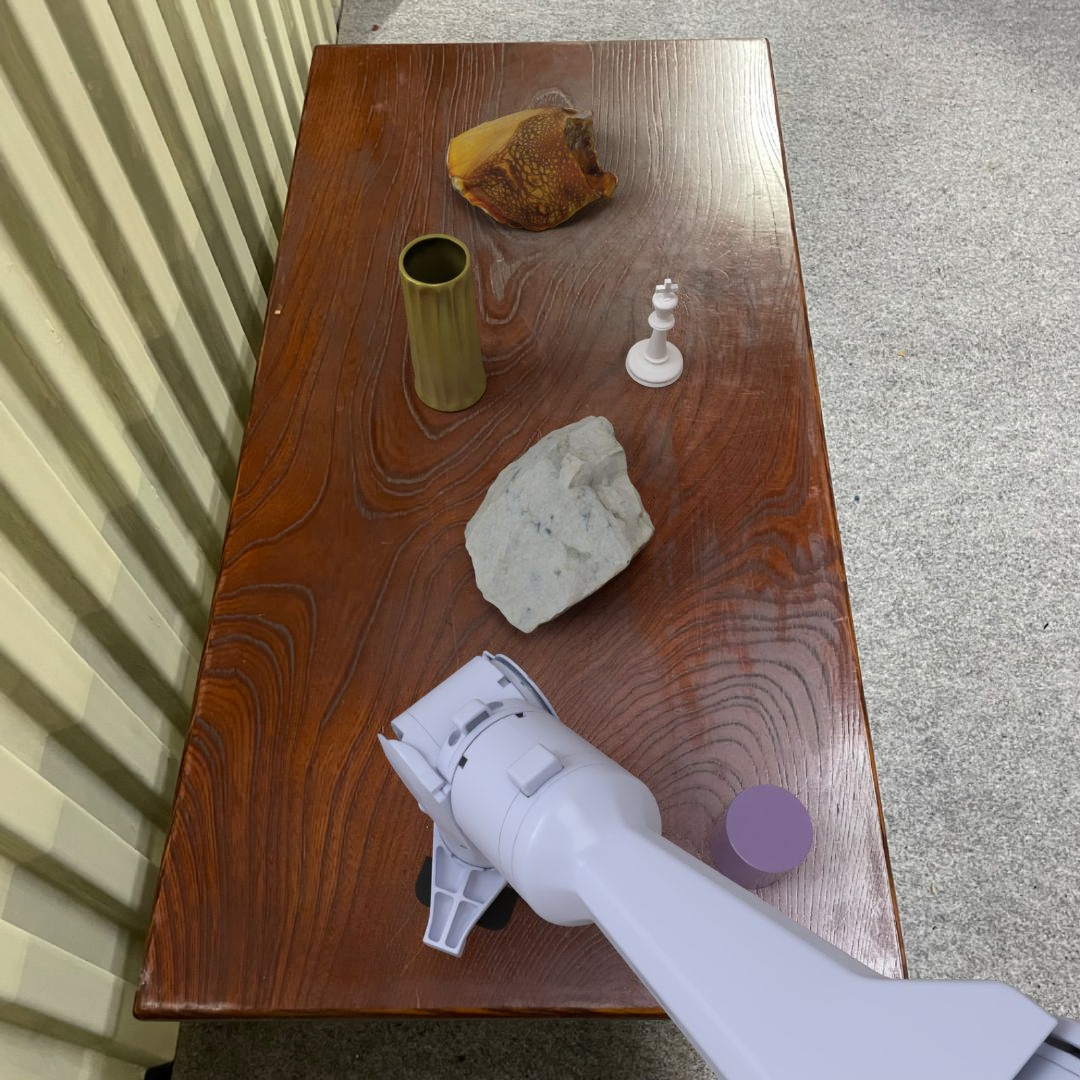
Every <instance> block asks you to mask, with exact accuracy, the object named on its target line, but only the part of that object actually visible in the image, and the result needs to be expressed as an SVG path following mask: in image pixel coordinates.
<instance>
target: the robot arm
mask: <svg viewBox="0 0 1080 1080" xmlns="http://www.w3.org/2000/svg"><path fill="white" fill-rule="evenodd" d="M390 726H391V728H392V730H393V733H394V734H395V736H396V737H397V739H388V738H387V737H385V735H383V734H382V733H377V738H378V740H379V742H380V746H381V747H382V750H383V752H384V755H385V757H386V759H387V761H388V762H389V764H390V765H391V767H392V768H393V770H394V771H395V773H396V774H397V775H398V777H399V779H400V780H401V781H402V783H403V785H405V787H406V788H407V789H408V791H409V792H410V794H411V795H412V796H413V798H414V799H415V800H416V802H417V805H418V807H419V809H420V811H421V812H422V813H423V814H426V815H428V816H429V818H430V819H431V820H432V821H433V835H432V837H433V838H432V841H433V842H432V856H428V855H426V856H425V858H424V860H423V864H422V866H421V869H420V870H419V874H418V876H417V878H416V881H415V884H414V893H415V896H416V898H417V900H418V902H419V903H420V904H421V905H423V906H425V907H427V908H429V909H430V910H429V916H428V921H427V925H426V929H425V932H424V936H423V938H422V942H423V943H424V944H425V945H426V946H427V947H430V948H432V949H435V950H437V951H439V952H443V953H446V954H448V955H451V956H453V957H456V958H458V959H460V958H462V956H463V953H464V950H465V947H466V945H467V938H468V937H469V935H470V933H471V931H472V929H473V928H474V927H475V926H478V927H481V928H483V929H486V930H488V931H493V932H494V931H495V932H497V931H501V930H504V929H505V928H506V927H507V926H508V924H509V923H510V921H511V919H512V915H513V912H514V910H515V907H516V904H517V901H518V898H519V896H520V897H521V898H522V899H523V900H524V901H525V902H526V903H527V904H528V906H529V907H530V908H531V909H532V910H533V911H534V913H535V914H536V915H537V916H539V918H542V920H544V921H546V922H548V923H551V924H554V925H557V926H562V927H582V926H588V925H591V924H595V925H596V926H597V928H598V929H599V930H600V931H601V932H602V934H603V935H604V936H605V938H606V939H607V940H608V942H609V943H610V944H611V946H613V948H614V950H616V952H617V953H618V954H619V956H621V957H622V959H623V960H624V961H625V963H626V964H627V965H628V966H629V968H630V969H631V970H632V972H633V973H634V974H635V975H636V977H637V978H638V980H639V981H640V982H641V983H642V984H643V986H644V987H645V988H646V989H647V991H648V992H649V993H650V994H651V996H652V997H653V998H654V1000H656V1002H657V1003H658V1005H660V1007H661V1009H663V1011H664V1012H665V1013H666V1014H667V1016H668V1017H669V1018H670V1020H671V1022H673V1023H674V1024H675V1026H676V1027H677V1028H678V1030H679V1031H680V1032H681V1033H682V1034H683V1036H684V1037H685V1038H686V1039H687V1041H688V1042H689V1043H690V1045H691V1046H692V1047H693V1048H694V1049H695V1051H696V1052H697V1054H698V1055H699V1056H700V1057H701V1058H702V1060H703V1061H704V1062H705V1064H706V1065H707V1066H708V1068H710V1069H711V1071H712V1072H713V1074H714V1075H715V1076H716V1077H717V1079H718V1080H1080V1018H1072V1017H1067V1016H1063V1015H1058V1014H1053V1013H1050V1012H1048V1010H1046V1009H1045V1008H1044V1007H1042V1006H1041V1005H1040V1004H1038V1003H1037V1002H1035V1001H1034V1000H1033V999H1031V998H1030V997H1029V996H1028V995H1026V994H1024V992H1022V991H1021V990H1019V989H1018V988H1016V987H1015V986H1014V985H1011V984H1009V983H1007V982H1005V981H1002V980H997V979H986V978H985V979H983V978H981V979H980V978H979V979H978V978H977V979H976V978H975V979H974V978H973V979H971V978H970V979H967V978H966V979H965V978H957V979H955V978H953V979H952V978H947V979H946V978H892V977H889V976H887V975H884V974H882V973H880V972H878V971H876V970H875V969H873V968H872V967H870V966H868V965H866V963H864V962H862V961H860V960H859V959H857V958H856V957H853V956H852V955H851V954H850V953H847V952H846V951H844V950H842V949H841V948H839V947H838V946H837V945H834V944H833V943H831V942H830V941H828V940H827V939H825V938H824V937H822V936H820V935H819V934H818V933H816V932H815V931H813V930H811V929H809V927H806V926H804V924H802V923H800V922H799V921H797V920H795V919H794V918H792V917H790V916H789V915H787V914H786V913H784V912H782V911H781V910H779V909H778V908H776V907H775V906H773V905H771V904H770V903H769V902H767V901H765V900H763V899H762V898H760V897H759V896H757V895H756V894H754V893H752V892H751V891H749V890H748V889H747V888H745V887H742V886H740V885H738V884H737V883H735V882H733V881H732V880H730V879H729V878H727V877H726V876H724V875H723V874H722V873H721V872H720V871H719V870H716V869H715V868H713V867H711V866H710V865H708V864H707V863H705V862H703V860H700V859H699V858H697V857H696V856H694V855H693V854H691V853H689V852H688V851H686V850H685V849H683V848H681V847H680V846H679V845H676V844H675V843H673V842H672V841H670V840H669V839H667V838H665V837H664V836H662V832H663V831H662V829H663V828H662V826H663V825H662V818H661V813H660V808H659V805H658V803H657V800H656V798H655V796H654V794H653V792H651V790H650V789H649V787H648V786H647V785H646V784H645V783H644V782H643V781H642V780H641V779H639V778H638V777H636V776H635V775H633V774H632V773H631V772H629V771H628V770H627V769H626V768H624V767H623V766H621V765H620V764H619V763H617V762H616V761H615V760H613V758H611V757H609V756H608V755H606V754H605V753H603V752H602V751H601V750H600V749H598V748H597V747H596V746H594V745H593V744H591V743H590V742H589V741H587V740H586V739H585V738H584V737H582V736H580V735H579V733H576V732H575V731H574V730H572V729H571V728H570V727H569V726H567V725H566V724H564V723H563V722H561V720H560V718H559V716H558V714H557V713H556V711H555V709H554V707H553V706H552V703H550V701H549V700H548V698H547V697H546V696H545V694H544V693H543V692H542V690H541V689H540V688H539V686H538V685H537V684H536V682H535V681H534V680H533V679H532V678H531V677H530V676H529V675H528V673H527V672H525V671H524V670H523V669H522V668H521V666H519V664H517V663H516V662H514V661H513V660H512V659H511V658H509V657H508V656H507V655H506V654H505V655H504V654H502V653H497V654H496V655H494V654H492V653H490V652H489V651H488V650H484V651H482V655H476V656H474V657H473V658H472V659H470V660H469V661H468V662H466V663H465V664H463V666H461V667H460V668H459V669H458V670H456V671H455V672H453V673H452V674H451V675H449V676H448V677H447V678H446V679H444V680H443V681H442V682H441V683H439V684H438V685H437V686H436V687H434V688H433V689H432V690H430V691H429V692H428V693H426V694H425V695H424V696H422V697H421V698H420V699H419V700H418V701H416V702H415V703H413V704H412V705H411V706H410V707H408V708H407V709H406V710H405V711H403V712H402V713H400V714H398V715H397V716H396V717H395V718H393V719H392V720H391V721H390ZM508 882H509V883H510V885H511V886H512V887H513V889H512V888H509V887H507V886H506V884H507V883H508Z"/></svg>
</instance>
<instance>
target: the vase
mask: <svg viewBox="0 0 1080 1080" xmlns="http://www.w3.org/2000/svg"><path fill="white" fill-rule="evenodd" d="M398 270H399V278H400V284H401V289H402V295H403V300H404V308H405V314H406V315H405V316H406V323H407V329H408V330H407V331H408V339H409V347H410V355H411V363H412V367H413V368H412V369H413V372H414V390H415V392H416V395H417V396H418V398H419V400H420V401H421V402H422V403H423V404H425V405H426V406H428V407H429V408H431V409H433V410H436V411H440V412H447V413H452V412H458V411H459V412H460V411H462V410H466V409H468V408H470V407H472V406H473V405H475V404H476V403H477V402H478V401H479V400H480V399H481V398H482V397H483V395H484V393H485V391H486V390H487V381H488V379H487V373H486V370H485V367H484V363H483V358H482V351H481V350H482V349H481V338H480V336H481V335H480V329H479V320H478V315H477V313H478V312H477V307H476V296H475V295H476V294H475V284H474V283H475V282H474V273H473V264H472V257H471V254H470V250H469V249H468V247H467V245H466V244H465V243H464V242H463V241H461V240H460V239H458V238H456V237H454V236H452V235H450V234H444V233H429V234H425V235H421V236H419V237H416V238H415V239H412V241H410V242H409V243H407V244H406V246H404V247H403V249H402V250H401V252H400V254H399V257H398Z"/></svg>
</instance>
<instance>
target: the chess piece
mask: <svg viewBox="0 0 1080 1080" xmlns="http://www.w3.org/2000/svg"><path fill="white" fill-rule="evenodd" d="M663 283H664V284H658V285H655V289H654V290H655V292H654V293H653V295H652V298H651V300H652V301H651V302H652V305H653V309H654V310H653V311H652V312H651V313H650V314H649V316H648V318H647V320H648V321H647V322H648V324H649V326H650V327H651V328H652V329H653V330H652V333H651V336H650V338H645V339H641V340H640V341H637V342H635V344H633V345H632V346H631V347H630V349H629V350H628V353H627V354H626V358H625V369H626V372H627V374H628V375H629V377H630V378H631V379H632V380H634V381H635V382H636V383H638V384H640V385H641V386H643V387H644V386H645V387H649V388H664V387H668V386H670V385H672V384H673V383H675V382H676V381H677V380H678V379H679V378H681V375H682V373H683V369H684V359H683V355H682V353H681V351H680V350H679V348H678V347H677V346H676V345H675V344H673V343H672V342H670V341H668V340H667V331H669V330H671V329H672V328H673V327H674V326H675V323H676V320H675V315H674V314H673V313H672V312H673V311H674V310H675V308H676V307H677V305H678V303H679V298H678V295H677V294H676V293H678V292H679V284H678V283H673V282H672V279H671V278H664V282H663Z"/></svg>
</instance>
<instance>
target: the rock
mask: <svg viewBox="0 0 1080 1080" xmlns="http://www.w3.org/2000/svg"><path fill="white" fill-rule="evenodd" d="M655 531H656V529H655V526H654V525H653V523H652V520H651V516H650V514H649V513H648V512H647V511H646V509H645V507H644V505H643V502H642V499H641V495H640V493H639V491H638V490H637V489H636V487H635V486H634V485H633V483H632V482H631V479H630V477H629V475H628V462H627V456H626V452H625V449H624V448H623V446H622V445H621V444H620V443H619V442H618V441H617V439H616V435H615V430H614V427H613V425H612V423H611V422H610V421H609V420H608V419H607V418H606V417H604V416H602V415H600V416H599V415H598V416H593V415H589V416H586V417H584V418H582V419H580V420H578V421H577V422H576V421H575V422H573V423H570V424H568V425H565V426H563V427H561V428H558V429H554V430H552V431H551V432H549V433H548V434H546V435H545V436H544V437H542V438H541V439H539V440H538V441H537V442H536V443H535V444H534V445H533V446H531V447H529V448H528V450H527V451H526V452H525V453H523V455H521V456H520V457H519V458H518V459H516V460H515V461H513V462H511V463H509V464H508V465H507V466H506V467H505V468H503V469H502V470H501V471H500V472H499V473H498V475H497V476H496V479H495V480H494V482H493V483H491V485H490V486H489V488H488V489H487V493H486V494H485V497H484V500H483V501H481V504H480V505H479V507H478V508H477V510H476V512H475V514H473V516H472V517H471V519H469V521H468V522H466V527H465V530H464V539H465V545H464V546H465V549H466V550H467V552H468V555H469V556H470V557H471V561H472V566H473V570H474V575H475V584H476V588H477V589H478V590H479V591H480V592H481V593H482V596H483V598H484V600H485V601H487V602H489V603H491V604H493V606H495V607H496V608H498V609H499V611H500V612H501V614H502V615H503V616H504V617H505V618H506V620H507V621H508V622H509V624H511V625H512V626H513V627H515V628H517V629H518V630H519V631H521V632H522V633H524V634H527V635H530V634H533V633H534V632H535V631H536V630H537V629H538V628H542V627H543V626H545V625H547V624H549V623H550V622H552V621H554V620H555V619H557V618H558V617H560V616H561V615H563V614H565V612H567V611H568V610H569V609H571V608H572V607H573V606H575V605H577V604H578V603H580V602H582V601H583V600H585V599H586V598H588V597H589V596H591V595H593V594H594V593H595V592H597V591H598V590H600V589H601V588H602V587H603V586H604V585H606V584H607V583H608V582H609V581H611V580H612V579H613V578H614V577H615V576H617V575H618V574H620V573H621V572H622V571H624V570H625V569H626V568H628V566H629V565H630V563H631V561H632V560H633V559H634V558H635V557H636V556H637V555H639V553H640V552H641V551H642V550H643V549H644V548H645V547H646V546H647V545H648V544H649V543H650V541H651V540H652V537H653V535H654V532H655Z"/></svg>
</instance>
